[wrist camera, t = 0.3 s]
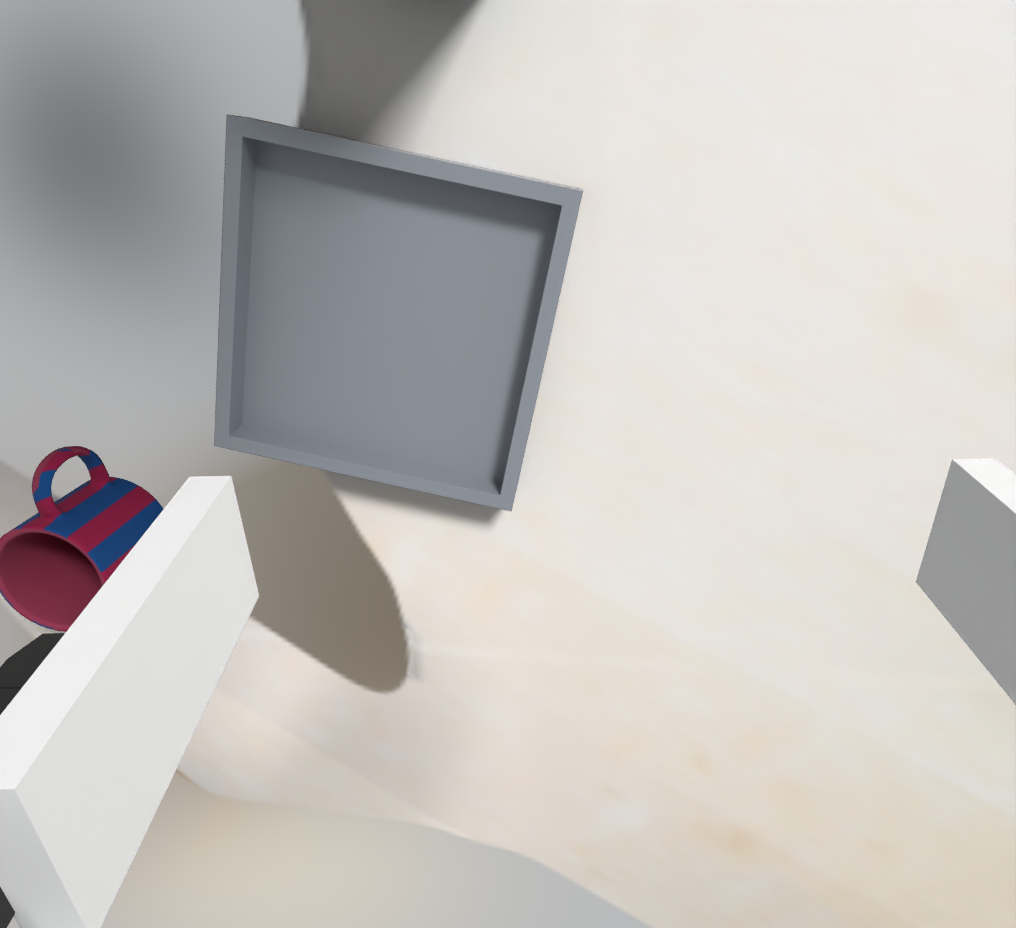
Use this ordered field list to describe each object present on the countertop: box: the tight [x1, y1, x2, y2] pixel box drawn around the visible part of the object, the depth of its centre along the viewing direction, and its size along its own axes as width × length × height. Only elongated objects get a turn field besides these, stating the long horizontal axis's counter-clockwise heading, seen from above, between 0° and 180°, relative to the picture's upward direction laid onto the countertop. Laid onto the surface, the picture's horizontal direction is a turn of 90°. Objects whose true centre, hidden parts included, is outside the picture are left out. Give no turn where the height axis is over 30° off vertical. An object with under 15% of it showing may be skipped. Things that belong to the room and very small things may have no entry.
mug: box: [0, 446, 163, 631], centre depth 42 cm, size 7×10×7 cm
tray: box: [214, 115, 583, 511], centre depth 38 cm, size 17×17×2 cm
